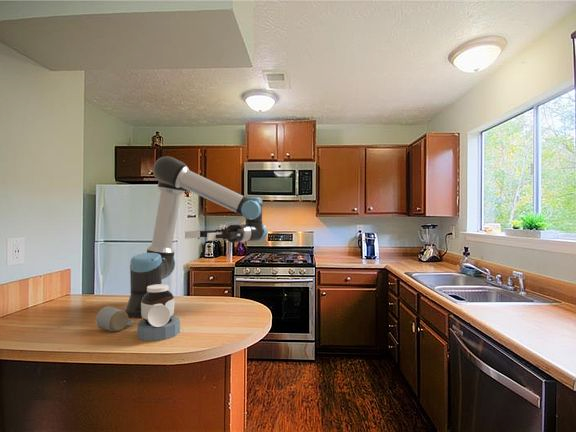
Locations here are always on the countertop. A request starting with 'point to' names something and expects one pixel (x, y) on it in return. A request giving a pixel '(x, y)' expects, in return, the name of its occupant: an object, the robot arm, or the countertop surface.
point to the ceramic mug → (112, 319)
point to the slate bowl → (158, 330)
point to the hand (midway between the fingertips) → (196, 235)
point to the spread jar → (157, 305)
